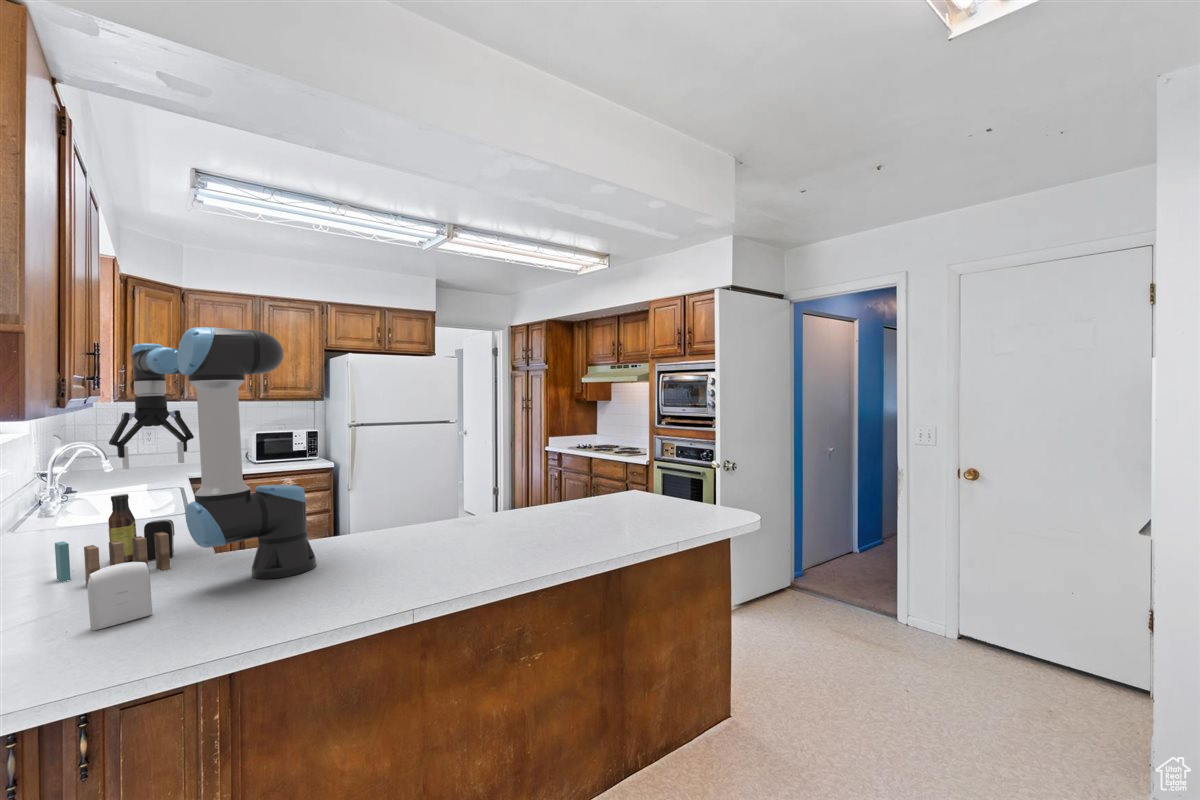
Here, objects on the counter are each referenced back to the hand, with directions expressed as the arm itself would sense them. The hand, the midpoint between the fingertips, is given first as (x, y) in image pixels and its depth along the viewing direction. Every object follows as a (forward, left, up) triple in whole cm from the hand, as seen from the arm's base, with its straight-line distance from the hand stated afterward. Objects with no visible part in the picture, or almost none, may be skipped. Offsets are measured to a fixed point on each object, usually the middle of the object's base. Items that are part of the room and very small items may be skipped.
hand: (154, 465), depth 170 cm
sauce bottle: (+7, +7, -28) cm, 30 cm away
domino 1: (-1, +22, -28) cm, 35 cm away
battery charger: (0, 0, -28) cm, 28 cm away
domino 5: (-15, +4, -28) cm, 32 cm away
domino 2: (-15, +19, -28) cm, 37 cm away
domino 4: (-15, +9, -28) cm, 33 cm away
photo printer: (-54, +23, -28) cm, 65 cm away
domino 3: (-15, +14, -28) cm, 35 cm away
